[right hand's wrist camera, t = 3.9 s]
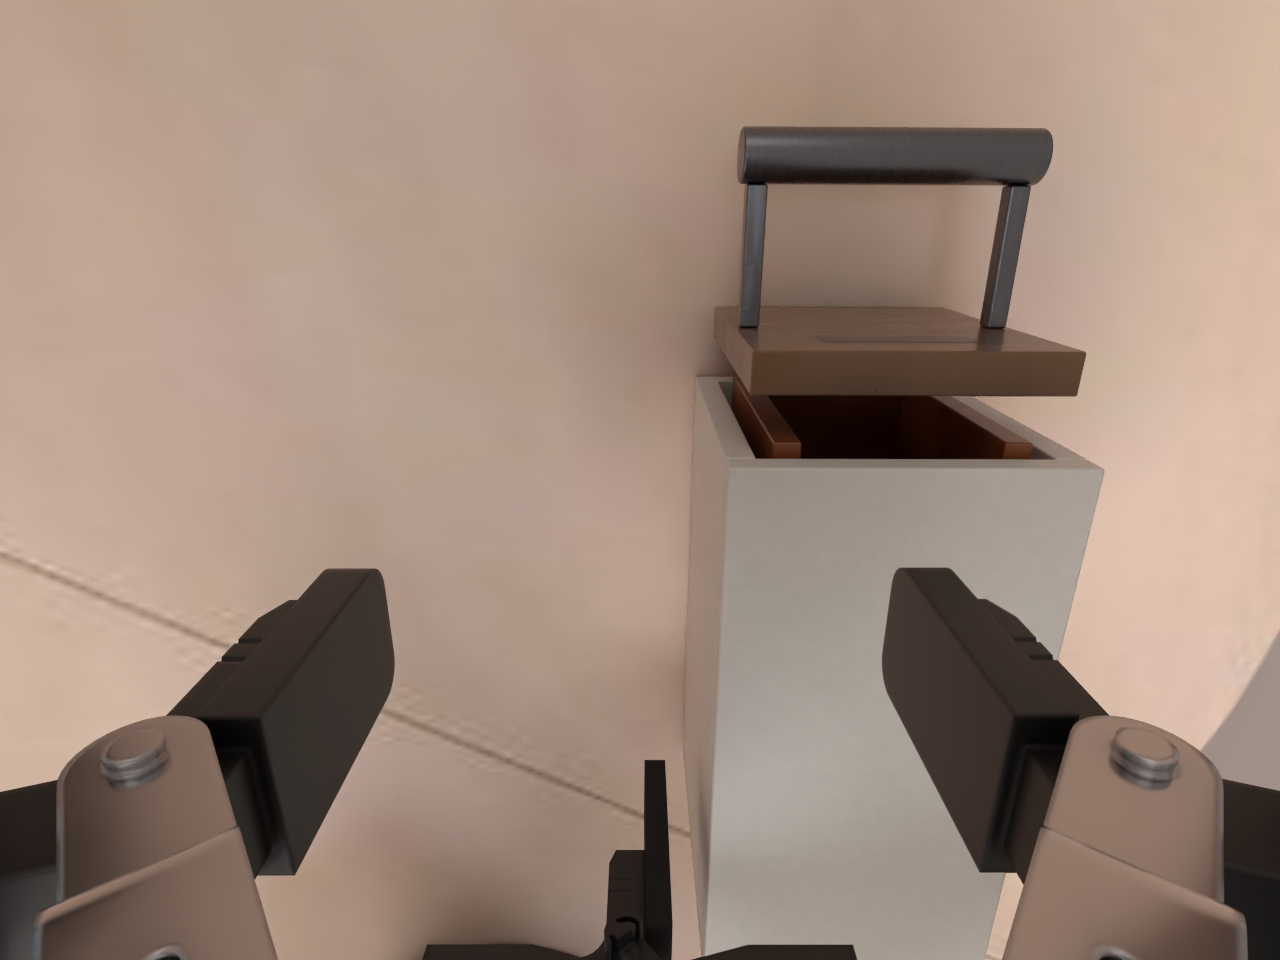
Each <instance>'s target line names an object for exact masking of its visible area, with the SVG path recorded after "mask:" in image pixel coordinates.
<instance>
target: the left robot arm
mask: <svg viewBox="0 0 1280 960" xmlns="http://www.w3.org/2000/svg"><path fill="white" fill-rule="evenodd" d="M671 954H672V905H671V883H670V861H669V839H668V817H667V795H666V772H665V760H645V782H644V850H616V851H615V853H614V855H613V857H612V859H611V861H610V863H609V883H608V905H607V924H606V927H605V930H604V941H603V943H602V944H601V946H600V947H599V948H598V949H597V950H596V951H594V952H593V953H591V954H589V955H587V956H585V957H582V958H584V959H588V960H671Z"/></svg>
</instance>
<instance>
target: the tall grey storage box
mask: <svg viewBox="0 0 1280 960" xmlns="http://www.w3.org/2000/svg"><path fill="white" fill-rule="evenodd" d="M732 383H733V377H695V393H694V424H693V455H692V486H691V517H690V549H689V580H688V611H687V642H686V673H685V704H684V736H683V755H684V766H685V777H686V788H687V799H688V811H689V822H690V833H691V844H692V856H693V867H694V878H695V889H696V901H697V912H698V923H699V934H700V945H701V956H702V957H704V956H707V955H711V954H715V953H719V952H722V951H726V950H730V949H734V948H737V947H741V946H745V945H853V947H854V950H855V953H856V957H857V960H984V959H985V955H986V950H987V946H988V942H989V938H990V934H991V930H992V926H993V922H994V918H995V914H996V910H997V906H998V902H999V898H1000V894H1001V890H1002V885H1003V881H1004V877H1005V873H980V872H979V870H978V868H977V866H976V865H975V863H974V861H973V859H972V857H971V855H970V853H969V851H968V849H967V847H966V845H965V843H964V841H963V839H962V837H961V835H960V834H959V832H958V830H957V828H956V826H955V824H954V822H953V820H952V818H951V816H950V814H949V812H948V810H947V808H946V806H945V805H944V803H943V801H942V799H941V797H940V795H939V793H938V791H937V789H936V787H935V785H934V783H933V781H932V779H931V777H930V775H929V774H928V772H927V770H926V768H925V766H924V764H923V762H922V760H921V758H920V756H919V754H918V752H917V750H916V748H915V746H914V745H913V743H912V741H911V739H910V737H909V735H908V733H907V731H906V729H905V727H904V725H903V723H902V721H901V719H900V717H899V715H898V714H897V712H896V710H895V708H894V706H893V704H892V702H891V700H890V698H889V696H888V694H887V691H886V688H885V685H884V680H883V673H882V651H883V643H884V636H885V629H886V622H887V614H888V607H889V600H890V592H891V585H892V580H893V576H894V574H895V572H896V570H897V569H898V568H950V569H952V570H953V571H954V572H955V574H956V575H957V576H958V577H959V578H960V579H961V580H962V582H963V583H964V584H965V585H966V586H967V587H968V588H969V589H970V591H971V592H972V593H973V594H974V595H975V596H976V597H977V599H987V600H989V601H991V602H992V603H994V604H996V605H998V606H999V607H1001V608H1003V609H1004V610H1006V611H1008V612H1009V613H1011V614H1013V615H1014V616H1016V617H1017V618H1018V619H1019V620H1020V621H1021V622H1022V623H1023V624H1024V625H1025V626H1026V627H1027V628H1028V629H1029V630H1030V632H1031V633H1032V634H1033V635H1034V636H1035V637H1036V641H1037V642H1041V643H1042V644H1043V645H1044V646H1045V648H1046V649H1047V650H1048V651H1049V652H1050V653H1051V654H1052V655H1053V660H1058V658H1059V654H1060V650H1061V646H1062V642H1063V638H1064V634H1065V630H1066V626H1067V622H1068V618H1069V613H1070V609H1071V605H1072V601H1073V597H1074V593H1075V589H1076V585H1077V581H1078V577H1079V573H1080V569H1081V565H1082V561H1083V557H1084V553H1085V549H1086V544H1087V540H1088V536H1089V532H1090V528H1091V524H1092V520H1093V516H1094V512H1095V508H1096V504H1097V500H1098V496H1099V492H1100V488H1101V484H1102V480H1103V475H1104V469H1103V468H1101V467H1099V466H1097V465H1095V464H1093V463H1092V462H1090V461H1088V460H1086V459H1085V458H1084V457H1082V456H1080V455H1078V454H1076V453H1074V452H1073V451H1071V450H1069V449H1067V448H1065V447H1063V446H1062V445H1060V444H1058V443H1056V442H1054V441H1052V440H1051V439H1049V438H1047V437H1045V436H1043V435H1041V434H1040V433H1038V432H1036V431H1034V430H1032V429H1030V428H1029V427H1027V426H1025V425H1023V424H1021V423H1019V422H1018V421H1016V420H1014V419H1012V418H1010V417H1008V416H1007V415H1005V414H1003V413H1001V412H999V411H997V410H996V409H994V408H992V407H990V406H988V405H986V404H985V403H983V402H981V401H979V400H977V399H975V398H974V397H972V396H952V397H953V398H955V399H957V400H959V401H960V402H962V403H964V404H965V405H967V406H969V407H971V408H972V409H974V410H976V411H978V412H979V413H981V414H983V415H984V416H986V417H988V418H990V419H991V420H993V421H995V422H997V423H998V424H1000V425H1002V426H1003V427H1005V428H1007V429H1009V430H1010V431H1012V432H1014V433H1015V434H1017V435H1019V436H1021V437H1022V438H1024V439H1026V440H1028V441H1029V442H1031V443H1032V444H1033V447H1032V452H1031V457H1030V460H1025V459H755V456H754V454H753V452H752V450H751V448H750V446H749V444H748V442H747V440H746V438H745V436H744V434H743V432H742V430H741V428H740V426H739V424H738V422H737V420H736V418H735V415H734V413H733V411H732V409H731V403H732Z"/></svg>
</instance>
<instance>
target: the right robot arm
mask: <svg viewBox="0 0 1280 960" xmlns="http://www.w3.org/2000/svg"><path fill="white" fill-rule="evenodd" d="M394 665H395V661H394V650H393V643H392V635H391V628H390V621H389V614H388V607H387V600H386V593H385V586H384V581H383V577H382V575H381V573H380V571H379V570H378V569H326V570H324V571H323V572H322V573H321V574H320V575H319V577H318V578H317V579H316V580H315V581H314V582H313V583H312V584H311V586H310V587H309V588H308V589H307V590H306V591H305V592H304V593H303V595H302V596H301V597H300V598H299V599H298V600H289V601H287V602H285V603H284V604H282V605H280V606H278V607H277V608H275V609H273V610H272V611H270V612H268V613H267V614H265V615H263V616H261V617H260V618H258V619H257V620H256V621H255V622H254V624H253V625H252V626H251V627H250V628H249V629H248V630H247V631H246V632H245V633H244V634H243V635H242V636H241V637H240V638H239V642H238V644H234V645H233V646H232V647H231V648H230V649H229V650H228V651H227V652H226V653H225V654H224V655H223V656H222V661H221V662H217V663H216V664H215V665H214V666H213V667H212V668H211V669H210V670H209V671H208V672H207V673H206V674H205V675H204V676H203V677H202V678H201V680H200V681H199V682H198V683H197V684H196V685H195V686H194V687H193V688H192V689H191V690H190V691H189V692H188V693H187V694H186V695H185V696H184V698H183V699H182V700H181V701H180V702H179V703H178V704H177V705H176V706H175V707H174V708H173V709H172V710H171V711H170V712H169V713H168V714H167V715H166V716H163V717H155V718H151V719H146V720H142V721H139V722H136V723H132V724H130V725H127V726H124V727H122V728H119V729H117V730H115V731H113V732H110V733H108V734H106V735H105V736H103V737H101V738H99V739H97V740H96V741H94V742H93V743H91V744H90V745H88V746H87V747H85V748H84V749H83V750H81V751H80V752H79V753H78V754H76V755H75V756H74V757H73V758H72V759H71V760H70V761H69V762H68V763H67V765H66V766H65V767H64V769H63V770H62V772H61V774H60V776H59V778H58V780H55V781H51V782H46V783H41V784H36V785H32V786H27V787H22V788H18V789H13V790H8V791H3V792H0V960H278V958H277V955H276V951H275V948H274V944H273V941H272V938H271V934H270V931H269V927H268V924H267V920H266V917H265V914H264V910H263V907H262V903H261V900H260V897H259V893H258V890H257V886H256V883H255V879H256V877H257V875H295V874H296V872H297V870H298V868H299V866H300V864H301V862H302V860H303V859H304V857H305V855H306V853H307V851H308V849H309V847H310V845H311V843H312V841H313V839H314V838H315V836H316V834H317V832H318V830H319V828H320V826H321V824H322V822H323V820H324V818H325V816H326V815H327V813H328V811H329V809H330V807H331V805H332V803H333V801H334V799H335V797H336V795H337V794H338V792H339V790H340V788H341V786H342V784H343V782H344V780H345V778H346V776H347V774H348V773H349V771H350V769H351V767H352V765H353V763H354V761H355V759H356V757H357V755H358V753H359V751H360V750H361V748H362V746H363V744H364V742H365V740H366V738H367V736H368V734H369V732H370V730H371V729H372V727H373V725H374V723H375V721H376V719H377V717H378V715H379V713H380V711H381V709H382V708H383V706H384V704H385V702H386V700H387V698H388V696H389V693H390V690H391V687H392V683H393V677H394ZM882 673H883V680H884V685H885V688H886V691H887V694H888V696H889V698H890V700H891V702H892V704H893V706H894V708H895V710H896V712H897V714H898V715H899V717H900V719H901V721H902V723H903V725H904V727H905V729H906V731H907V733H908V735H909V737H910V739H911V741H912V743H913V745H914V746H915V748H916V750H917V752H918V754H919V756H920V758H921V760H922V762H923V764H924V766H925V768H926V770H927V772H928V774H929V775H930V777H931V779H932V781H933V783H934V785H935V787H936V789H937V791H938V793H939V795H940V797H941V799H942V801H943V803H944V805H945V806H946V808H947V810H948V812H949V814H950V816H951V818H952V820H953V822H954V824H955V826H956V828H957V830H958V832H959V834H960V835H961V837H962V839H963V841H964V843H965V845H966V847H967V849H968V851H969V853H970V855H971V857H972V859H973V861H974V863H975V865H976V866H977V868H978V870H979V872H980V873H1017V874H1018V876H1019V878H1020V879H1021V881H1022V883H1023V885H1024V886H1023V890H1022V893H1021V897H1020V900H1019V903H1018V907H1017V910H1016V914H1015V917H1014V920H1013V924H1012V927H1011V931H1010V934H1009V938H1008V941H1007V944H1006V948H1005V951H1004V955H1003V958H1002V960H1280V791H1277V790H1272V789H1267V788H1263V787H1258V786H1253V785H1249V784H1244V783H1239V782H1234V781H1230V780H1225V779H1222V778H1221V776H1220V774H1219V772H1218V770H1217V769H1216V767H1215V766H1214V765H1213V763H1212V762H1211V761H1210V760H1209V759H1208V758H1207V757H1206V756H1205V755H1204V754H1202V753H1201V752H1200V751H1199V750H1197V749H1196V748H1195V747H1193V746H1192V745H1190V744H1189V743H1187V742H1186V741H1184V740H1183V739H1181V738H1179V737H1177V736H1175V735H1174V734H1172V733H1170V732H1167V731H1165V730H1163V729H1161V728H1158V727H1156V726H1153V725H1150V724H1148V723H1144V722H1141V721H1138V720H1134V719H1129V718H1125V717H1117V716H1109V715H1108V714H1107V713H1106V711H1105V710H1104V709H1103V708H1102V707H1101V706H1100V705H1099V704H1098V703H1097V702H1096V701H1095V700H1094V699H1093V698H1092V697H1091V695H1090V694H1089V693H1088V692H1087V691H1086V690H1085V689H1084V688H1083V687H1082V686H1081V685H1080V684H1079V683H1078V682H1077V681H1076V679H1075V678H1074V677H1073V676H1072V675H1071V674H1070V673H1069V672H1068V671H1067V670H1066V669H1065V668H1064V667H1063V666H1062V665H1061V663H1060V662H1059V661H1058V660H1053V655H1052V654H1051V653H1050V652H1049V651H1048V650H1047V649H1046V648H1045V646H1044V645H1043V644H1042V643H1041V642H1037V641H1036V637H1035V636H1034V635H1033V634H1032V633H1031V632H1030V630H1029V629H1028V628H1027V627H1026V626H1025V625H1024V624H1023V623H1022V622H1021V621H1020V620H1019V619H1018V618H1017V617H1016V616H1014V615H1013V614H1011V613H1009V612H1008V611H1006V610H1004V609H1003V608H1001V607H999V606H998V605H996V604H994V603H992V602H991V601H989V600H987V599H977V597H976V596H975V595H974V594H973V593H972V592H971V591H970V589H969V588H968V587H967V586H966V585H965V584H964V583H963V582H962V580H961V579H960V578H959V577H958V576H957V575H956V574H955V572H954V571H953V570H952V569H950V568H898V569H897V570H896V572H895V574H894V576H893V580H892V585H891V592H890V600H889V607H888V614H887V622H886V629H885V636H884V643H883V651H882ZM423 960H588V959H584V958H580V957H576V956H573V955H569V954H565V953H561V952H558V951H554V950H550V949H546V948H543V947H539V946H535V945H427V947H426V950H425V953H424V957H423ZM692 960H857V957H856V953H855V950H854V947H853V945H745V946H741V947H737V948H734V949H730V950H726V951H722V952H719V953H715V954H711V955H707V956H704V957H700V958H696V959H692Z"/></svg>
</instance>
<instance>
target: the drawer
mask: <svg viewBox="0 0 1280 960" xmlns="http://www.w3.org/2000/svg"><path fill="white" fill-rule="evenodd" d="M1052 153H1053V139H1052V135H1051V133H1050V132H1049V131H1048V130H1047V129H1044V128H911V127H743V128H742V130H741V133H740V138H739V145H738V158H737V174H738V180H739V183H741V184H747V185H745V193H744V212H743V232H742V251H741V270H740V290H739V307H715V321H714V338H715V340H716V341H717V343H718V345H719V346H720V348H721V349H722V351H723V352H724V354H725V356H726V357H727V359H728V360H729V362H730V363H731V365H732V367H733V368H734V370H735V371H736V373H737V375H735V376H733V383H732V403H731V409H732V411H733V413H734V415H735V418H736V420H737V422H738V424H739V426H740V428H741V430H742V432H743V434H744V436H745V438H746V440H747V442H748V444H749V446H750V448H751V450H752V452H753V454H754V456H755V459H1025V460H1030V457H1031V452H1032V447H1033V444H1032V443H1031V442H1029V441H1028V440H1026V439H1024V438H1022V437H1021V436H1019V435H1017V434H1015V433H1014V432H1012V431H1010V430H1009V429H1007V428H1005V427H1003V426H1002V425H1000V424H998V423H997V422H995V421H993V420H991V419H990V418H988V417H986V416H984V415H983V414H981V413H979V412H978V411H976V410H974V409H972V408H971V407H969V406H967V405H965V404H964V403H962V402H960V401H959V400H957V399H955V398H953V397H952V396H1077V393H1078V388H1079V384H1080V379H1081V375H1082V370H1083V366H1084V361H1085V357H1086V352H1084V351H1081V350H1078V349H1074V348H1071V347H1068V346H1065V345H1061V344H1058V343H1055V342H1052V341H1048V340H1045V339H1042V338H1039V337H1036V336H1032V335H1029V334H1026V333H1023V332H1019V331H1016V330H1013V329H1010V328H1006V322H1007V316H1008V311H1009V305H1010V300H1011V294H1012V288H1013V283H1014V277H1015V272H1016V266H1017V261H1018V255H1019V250H1020V244H1021V239H1022V233H1023V228H1024V222H1025V217H1026V211H1027V206H1028V200H1029V195H1030V189H1031V186H1032V185H1035V184H1037V183H1038V182H1040V181H1041V180H1042V178H1043V177H1044V175H1045V174H1046V172H1047V170H1048V168H1049V165H1050V162H1051V158H1052ZM767 184H837V185H1008V186H1004V187H1003V189H1002V195H1001V201H1000V207H999V213H998V219H997V224H996V230H995V236H994V242H993V248H992V254H991V260H990V266H989V272H988V278H987V284H986V290H985V296H984V302H983V308H982V313H981V319H977V318H974V317H971V316H967V315H964V314H961V313H958V312H954V311H951V310H948V309H945V308H922V307H760V301H761V285H762V269H763V253H764V237H765V221H766V205H767V189H768V186H767Z"/></svg>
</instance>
